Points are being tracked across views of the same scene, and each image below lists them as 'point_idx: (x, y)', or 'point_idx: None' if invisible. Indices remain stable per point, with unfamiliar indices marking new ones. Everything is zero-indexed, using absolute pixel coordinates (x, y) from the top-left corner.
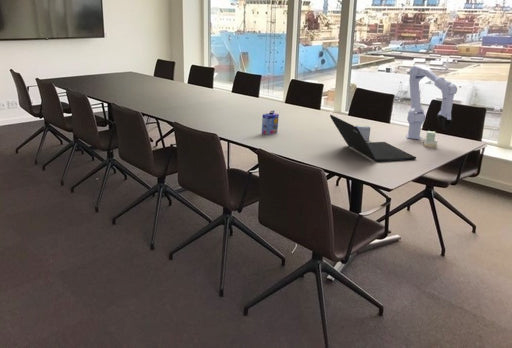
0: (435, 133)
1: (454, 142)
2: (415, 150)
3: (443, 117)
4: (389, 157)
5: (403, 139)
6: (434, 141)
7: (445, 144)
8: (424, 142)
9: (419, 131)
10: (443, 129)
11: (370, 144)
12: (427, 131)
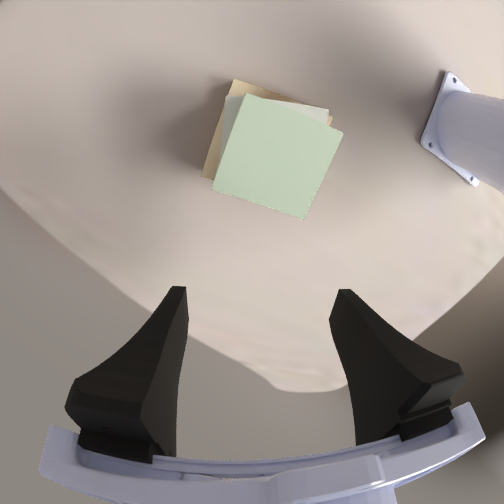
0: (214, 189)
1: None
2: (116, 3)
3: (373, 419)
4: None
5: (423, 32)
6: None
7: (302, 267)
8: (286, 101)
9: (470, 157)
10: (166, 294)
11: None
12: (310, 119)
